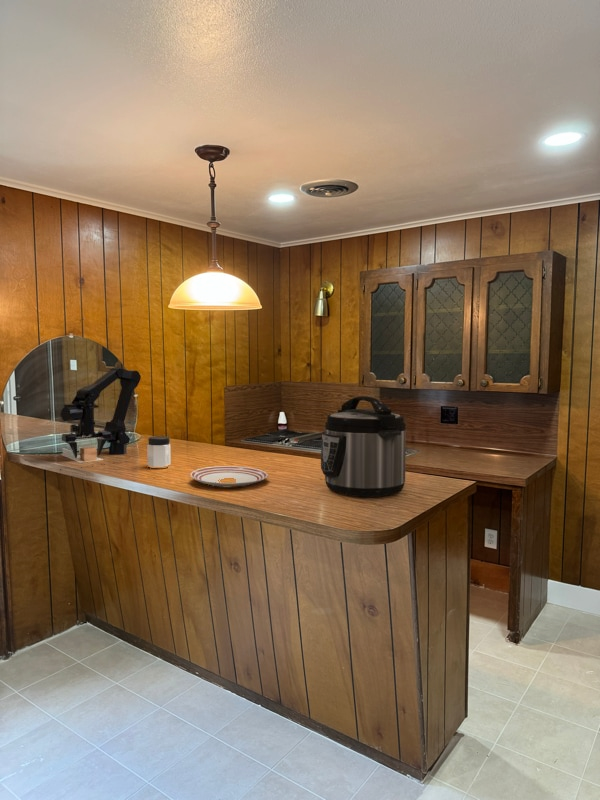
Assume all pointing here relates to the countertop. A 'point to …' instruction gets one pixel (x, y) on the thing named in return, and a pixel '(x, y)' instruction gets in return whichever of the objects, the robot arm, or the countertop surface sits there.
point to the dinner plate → (228, 475)
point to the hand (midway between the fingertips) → (87, 456)
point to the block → (88, 453)
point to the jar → (158, 451)
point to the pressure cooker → (364, 450)
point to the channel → (70, 455)
